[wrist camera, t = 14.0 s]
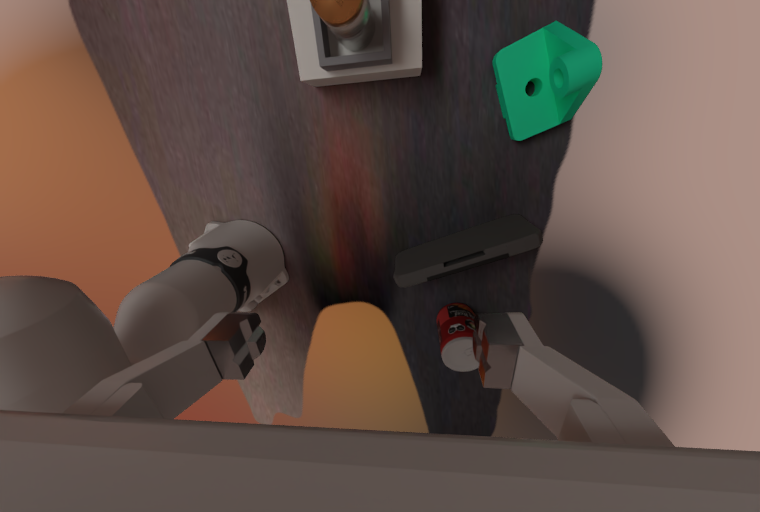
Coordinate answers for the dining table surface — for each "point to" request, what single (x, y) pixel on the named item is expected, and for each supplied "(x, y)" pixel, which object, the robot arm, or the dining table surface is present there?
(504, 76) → the camera mount
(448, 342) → the canned food
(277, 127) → the dining table surface
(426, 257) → the handheld gaming console
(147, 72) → the dining table surface
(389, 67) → the grey pedestal block
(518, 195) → the dining table surface
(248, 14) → the dining table surface
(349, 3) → the glass jar
